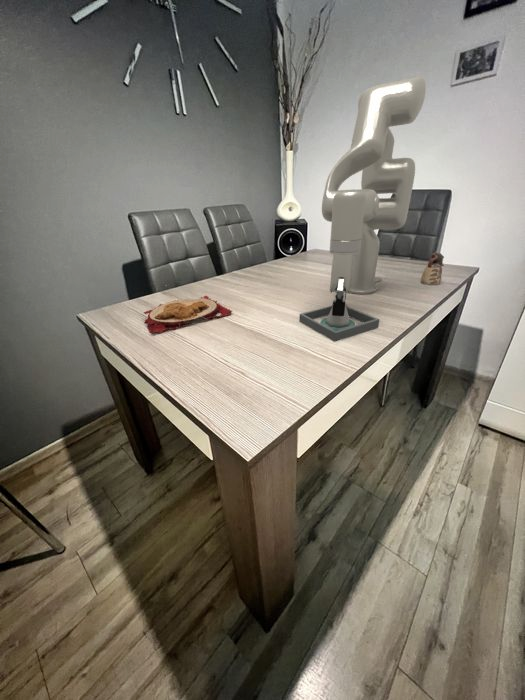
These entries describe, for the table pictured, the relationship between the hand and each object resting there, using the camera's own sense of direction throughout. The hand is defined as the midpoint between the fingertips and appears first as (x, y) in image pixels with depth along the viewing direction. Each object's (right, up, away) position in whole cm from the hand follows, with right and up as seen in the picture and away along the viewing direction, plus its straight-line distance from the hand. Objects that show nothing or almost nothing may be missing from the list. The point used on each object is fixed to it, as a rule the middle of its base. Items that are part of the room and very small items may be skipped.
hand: (338, 309), depth 78 cm
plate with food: (-49, 0, +17) cm, 52 cm away
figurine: (+47, +16, +34) cm, 60 cm away
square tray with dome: (0, -4, +2) cm, 5 cm away
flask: (0, -4, +2) cm, 5 cm away
